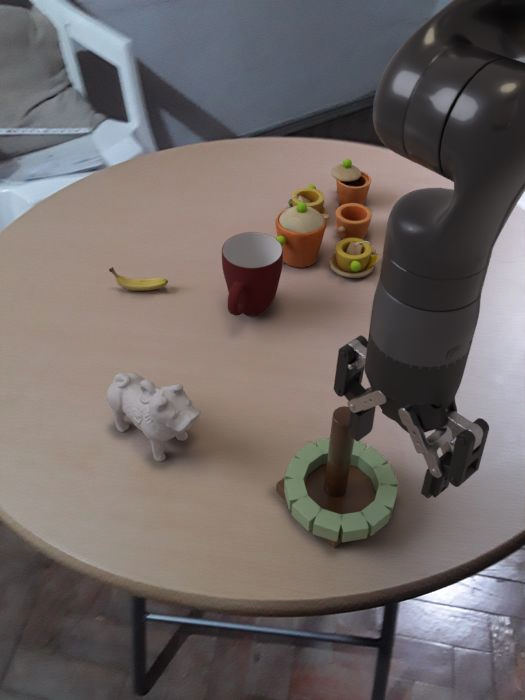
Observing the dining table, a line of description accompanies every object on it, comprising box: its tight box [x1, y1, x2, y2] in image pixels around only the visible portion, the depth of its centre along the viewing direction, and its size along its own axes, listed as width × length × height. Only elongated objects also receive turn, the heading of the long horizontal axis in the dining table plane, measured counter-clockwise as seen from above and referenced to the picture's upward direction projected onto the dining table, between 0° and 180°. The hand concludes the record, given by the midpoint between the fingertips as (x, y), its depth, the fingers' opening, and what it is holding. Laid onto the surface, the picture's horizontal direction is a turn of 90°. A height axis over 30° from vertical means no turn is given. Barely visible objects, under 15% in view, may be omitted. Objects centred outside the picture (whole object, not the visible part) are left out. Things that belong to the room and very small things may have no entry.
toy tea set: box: [275, 158, 379, 279], centre depth 106 cm, size 26×16×10 cm, turn 174°
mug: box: [221, 231, 284, 317], centre depth 92 cm, size 11×8×10 cm
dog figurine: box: [105, 372, 202, 462], centre depth 76 cm, size 5×13×11 cm, turn 51°
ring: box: [284, 437, 399, 543], centre depth 72 cm, size 12×12×2 cm
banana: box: [108, 266, 169, 291], centre depth 97 cm, size 8×2×4 cm, turn 90°
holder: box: [275, 405, 376, 549], centre depth 69 cm, size 9×9×14 cm
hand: (394, 461), depth 62 cm, fingers open, 8 cm apart
